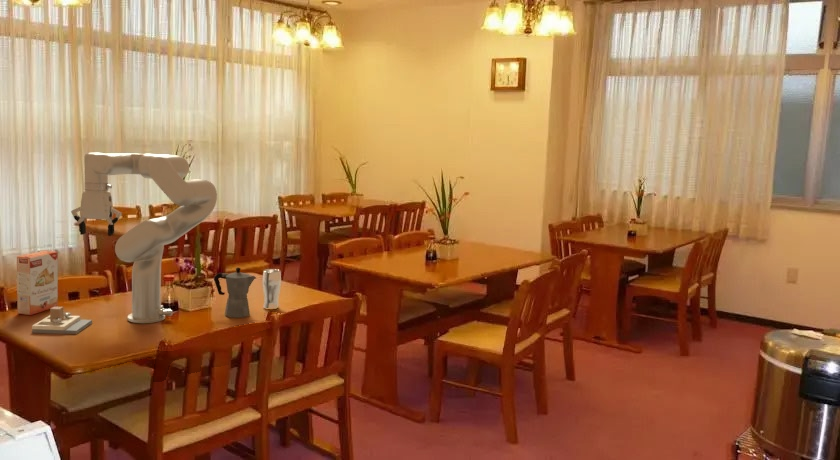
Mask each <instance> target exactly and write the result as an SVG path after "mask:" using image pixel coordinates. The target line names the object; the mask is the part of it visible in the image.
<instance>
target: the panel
mask: <svg viewBox="0 0 840 460" xmlns="http://www.w3.org/2000/svg"><path fill="white" fill-rule="evenodd" d="M49 311H50V312H49V315H47V316H46V317H44V318H43V319H41V320H39V321H38V322H35V323H34V324H33V325H31V327H32V328H31V330H32V329H43V330H65V329H67V328H68V327H70V326H71V325H73V324H74V323H76V322H77V321H79V320H80V319H81V315H71V316H68V319H65V317H64V313H65V312H64V306H57V307H53V308H51V309H49ZM54 318H61V319H62V321H61V322H59V325H56V323H55V322H53V319H54Z"/></svg>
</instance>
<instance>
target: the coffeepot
mask: <svg viewBox="0 0 840 460" xmlns="http://www.w3.org/2000/svg"><path fill="white" fill-rule="evenodd" d="M235 271H236V272H231V273H227V272H226V273H223V272H218V273H216V275H214V277H213V281H214V283H215V288H216V290H217V292H218V295H220V296H225V294H226V292H222V286H221V285H220V284H221V283H220V280H219V279H225V282H226V283H225V284H226V291H227V294H228V297H227V301H226V305H225V311H224V314H225V315H224V316H225V317H227V318H231V319H241V318H247V317H248V316H250V313H251V312H250V307H249V300H248V294H249V291H250V290H249V289H250V286H251V285H252V284H253V282H254V280H256V279H257V277H256V276H255V275H252V274H249V273H245V272H241V267H236V268H235Z"/></svg>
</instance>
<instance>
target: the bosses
mask: <svg viewBox="0 0 840 460" xmlns="http://www.w3.org/2000/svg"><path fill="white" fill-rule="evenodd" d="M68 316H72V315H71V312H64V317H65V319H68ZM61 321H62V319H61V318H54V319H53V322H55V323H56V325H59V322H61Z"/></svg>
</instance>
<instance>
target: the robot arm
mask: <svg viewBox="0 0 840 460" xmlns="http://www.w3.org/2000/svg"><path fill="white" fill-rule="evenodd" d="M83 160H84V161H83V164H84V165H83V166H84V167H83V168H84V190H82V194H81V201H80V206H78V207H76V208H74V209H73V210H71V211H70V213H71V215H72V217H73V219H74V220H75V221H76V222H77V224H78V232H79V234H80V235H84V234H86V233H87V232H86V231H87V228H86V226H87V225H86V224H87V223H86V222H85V221H86V220H87V219H88V220H105V221H106V222H107V224H108V225H107V235H108V237H111V236H113V235H114V234H115V224H116V223H117V222H118V221H119V220H120V218H121V217H122V215H123V213H122V212H121V211H119V210H118V209H115V208H114V207H113V204H114V203H113V198H112V193H111V191H110V189H112V187H113V185H112V184H109V182H108V181H109V179H108V178H109V176H116V175H117V176H119V175H140V176H141V177H142V178H144V179H149V180H150V179H152V180H153V182H154V183H155V184H156V186H157V187H158V188H159V189H160V190H161V191H162V192H163V194H164V195H165V196H167V199H169V200H170V201H171V202H172V203H174V204H175V205H176V206H178V207H177V208H175V209H174V210H173V211H172V212H170V213H168V214H166V215H163V216H160V217H156V218H150V219H147V220H143V221H142V222H140V223H138V224H136V225H135V226H133V228H131V229H129V230H128V231H127V232H125V233H123V235H121V236H120V237H119V238H118V239H117V240H116V242H115V246H114V253H115V255H116V257H117V258H118V259H119V260H120V261H122V262H125V263H133V265H132V270H131V308H132V309H131V311H132V312H131V313H130V314H128V315H127V321H128V322H131V323H135V324H154V323H158V322H161V321H163V320H165V319H166V316H169V317H171V316H172V317H173V314H174V310H173V309H171V308H164V305H163V304H161V301H162V298H161V296H162V288H161V287H162V281H161V280H162V279H161V277H162V259H163V254H164V251H165V250H164V249H165V245H169V244H172V243H175V242H176V241H177V240H178V239H179V238H181V237H182V236H184V235H185V234H187V233H188V232H189V231H191V230H193V229H194V228H196V226H198V225H199V224H201V223H202V222H204V221H205V220H206V219H207V218H208V217H210V215H211V213H213V211H214V209H215V207H216V205H217V202H218V201H217V200H218V193H217V188H216V187H215V186H216V185H214V184H213V183H212V182H211V181H209V180H207V179H201V178H196V179H195V178H194V179H184V178H185V177H186V176H187V175H188V173H189V172H190V164H189V162H188V160H187V159H186V158H185V157H183V156H180V155H178V154H177V155H176V154H162V153H161V154H158V153H157V154H156V153H130V152H129V153H128V152H126V153H123V152H121V153H119V152H118V153H103V152H86V153H85V154H84V159H83ZM108 190H109V191H108ZM78 212H80V215H78ZM114 214H115V217H114ZM113 217H114V218H113Z"/></svg>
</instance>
